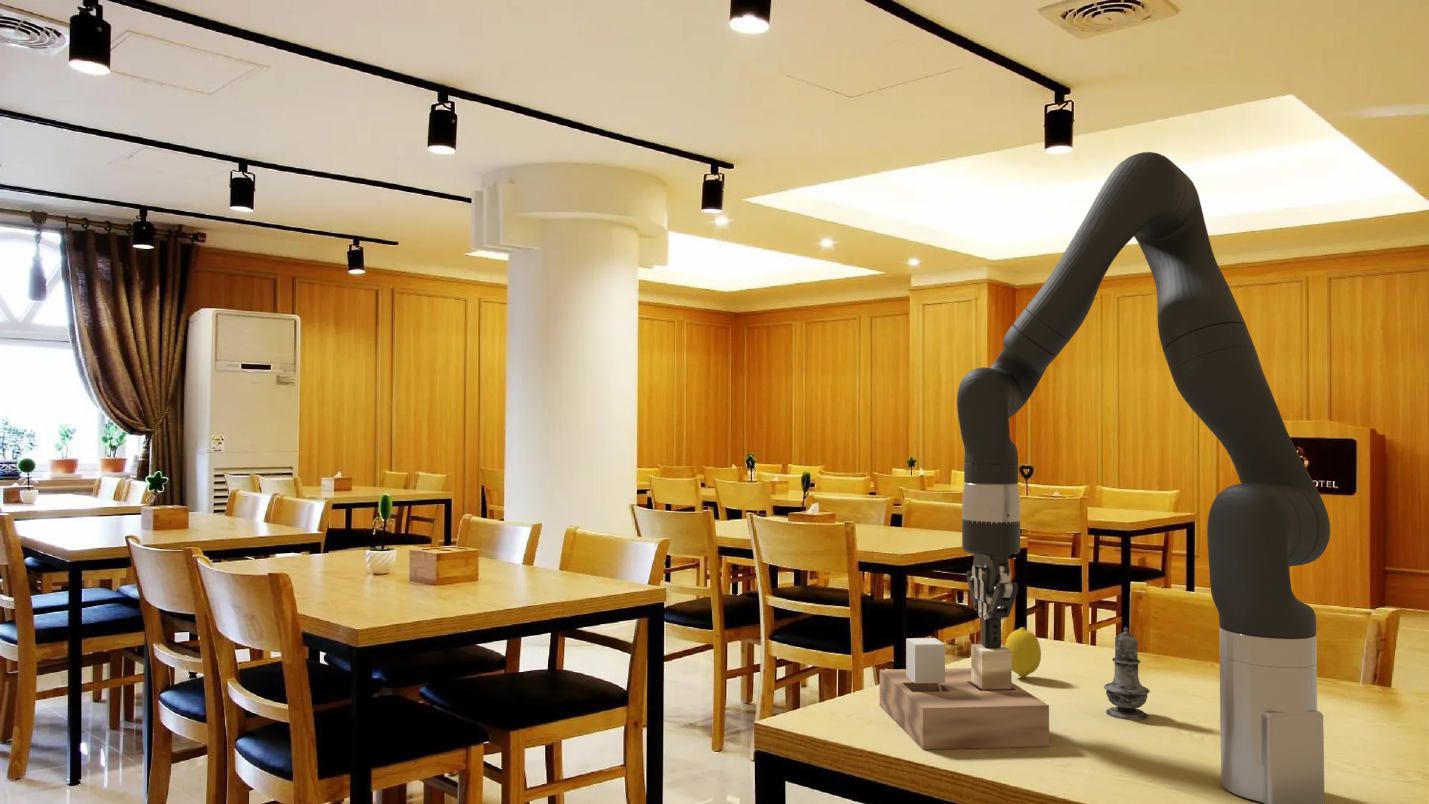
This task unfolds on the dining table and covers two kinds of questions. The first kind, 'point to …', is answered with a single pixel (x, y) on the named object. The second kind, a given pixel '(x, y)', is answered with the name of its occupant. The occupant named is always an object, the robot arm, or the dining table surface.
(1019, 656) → the lemon
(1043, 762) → the dining table surface
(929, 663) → the peg
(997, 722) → the socket board
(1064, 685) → the dining table surface
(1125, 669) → the salt shaker
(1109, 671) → the dining table surface
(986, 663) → the peg
